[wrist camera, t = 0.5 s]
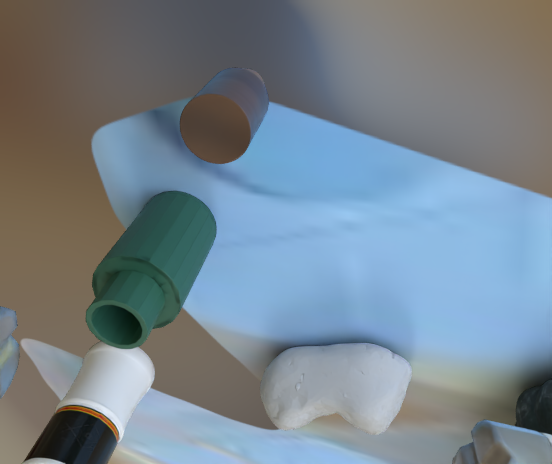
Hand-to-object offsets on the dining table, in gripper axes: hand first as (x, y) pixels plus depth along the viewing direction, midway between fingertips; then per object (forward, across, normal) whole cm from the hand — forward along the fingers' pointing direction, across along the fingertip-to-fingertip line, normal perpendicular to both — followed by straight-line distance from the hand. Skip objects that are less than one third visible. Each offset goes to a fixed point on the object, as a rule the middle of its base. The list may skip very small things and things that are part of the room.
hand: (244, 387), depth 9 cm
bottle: (+39, +9, +23) cm, 46 cm away
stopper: (+39, +5, +7) cm, 40 cm away
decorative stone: (+38, -12, +38) cm, 55 cm away
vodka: (+40, +14, +47) cm, 63 cm away
